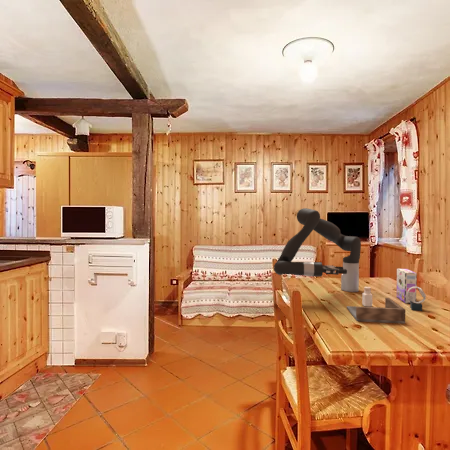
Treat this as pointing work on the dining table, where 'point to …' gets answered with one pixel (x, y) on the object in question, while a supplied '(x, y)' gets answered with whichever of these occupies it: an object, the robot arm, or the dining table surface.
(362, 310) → the corner wooden bin
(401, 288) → the candy box
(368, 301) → the pepper shaker
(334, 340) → the dining table surface
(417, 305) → the watch
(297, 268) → the robot arm
